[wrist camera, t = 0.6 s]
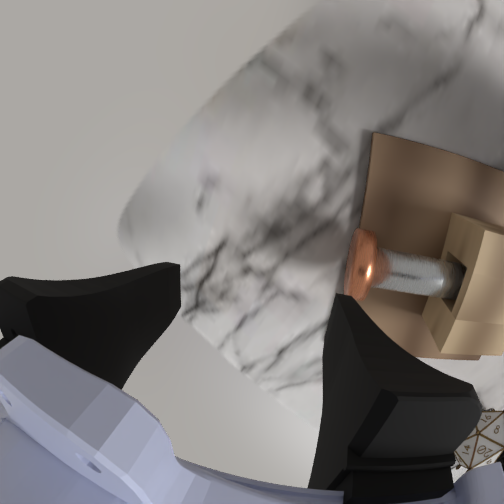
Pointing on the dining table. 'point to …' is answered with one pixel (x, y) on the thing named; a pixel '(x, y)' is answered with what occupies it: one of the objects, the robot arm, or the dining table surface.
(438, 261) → the pin
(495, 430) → the game die
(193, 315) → the dining table surface
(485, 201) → the block
